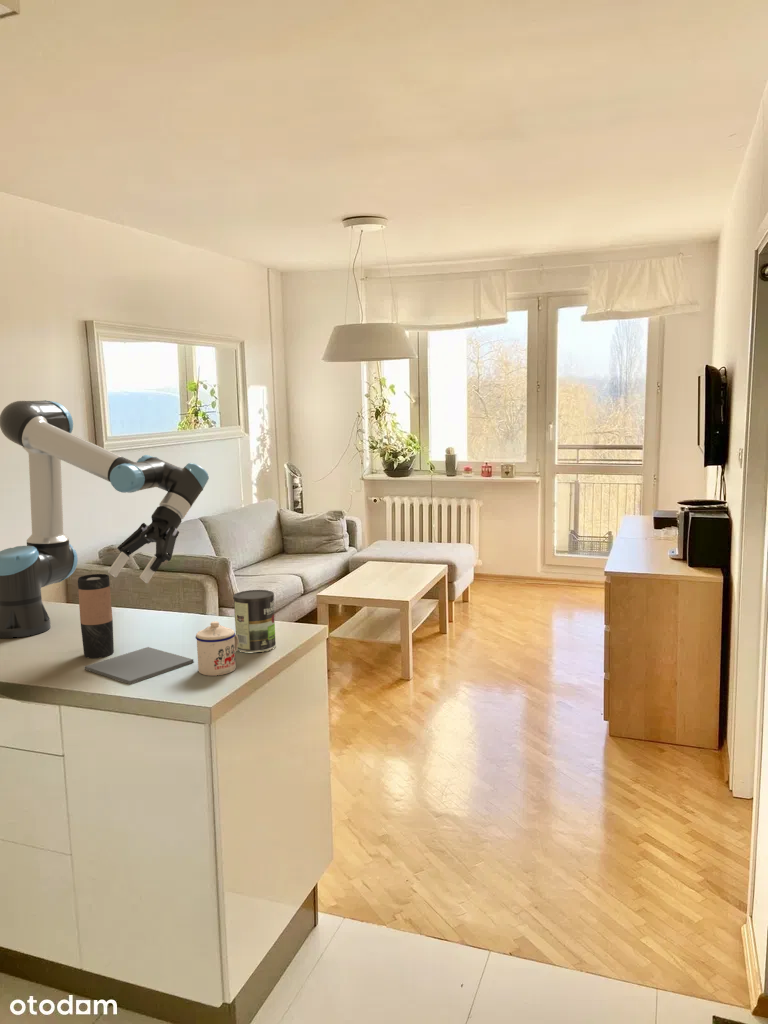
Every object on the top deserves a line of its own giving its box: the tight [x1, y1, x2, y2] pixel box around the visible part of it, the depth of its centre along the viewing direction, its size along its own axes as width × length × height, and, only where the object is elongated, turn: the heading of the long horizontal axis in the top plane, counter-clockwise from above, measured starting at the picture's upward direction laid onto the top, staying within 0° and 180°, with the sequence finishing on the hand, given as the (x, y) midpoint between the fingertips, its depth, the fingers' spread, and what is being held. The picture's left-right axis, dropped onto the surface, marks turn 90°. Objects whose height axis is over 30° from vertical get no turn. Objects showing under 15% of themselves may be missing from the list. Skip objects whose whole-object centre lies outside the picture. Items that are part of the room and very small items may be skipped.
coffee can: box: [232, 589, 277, 653], centre depth 199 cm, size 10×10×14 cm
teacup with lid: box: [195, 620, 239, 677], centre depth 184 cm, size 12×9×12 cm
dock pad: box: [84, 646, 194, 685], centre depth 188 cm, size 18×18×1 cm
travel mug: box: [77, 573, 115, 659], centre depth 196 cm, size 8×8×20 cm
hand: (127, 577), depth 202 cm, fingers open, 13 cm apart
